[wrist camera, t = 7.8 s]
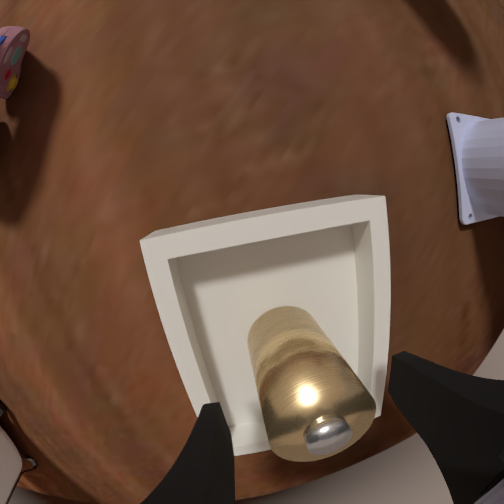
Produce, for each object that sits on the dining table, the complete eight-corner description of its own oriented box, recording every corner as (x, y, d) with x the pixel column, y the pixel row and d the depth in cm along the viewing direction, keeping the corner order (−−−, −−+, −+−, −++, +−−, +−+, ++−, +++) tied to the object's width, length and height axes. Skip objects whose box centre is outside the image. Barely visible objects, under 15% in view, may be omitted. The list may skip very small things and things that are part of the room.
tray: (356, 194, 15) (385, 196, 12) (362, 390, 18) (380, 415, 15) (154, 230, 14) (139, 240, 11) (215, 427, 17) (216, 458, 14)
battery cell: (315, 298, 15) (389, 381, 7) (320, 358, 16) (376, 451, 8) (241, 314, 14) (263, 420, 7) (253, 375, 15) (278, 481, 8)
